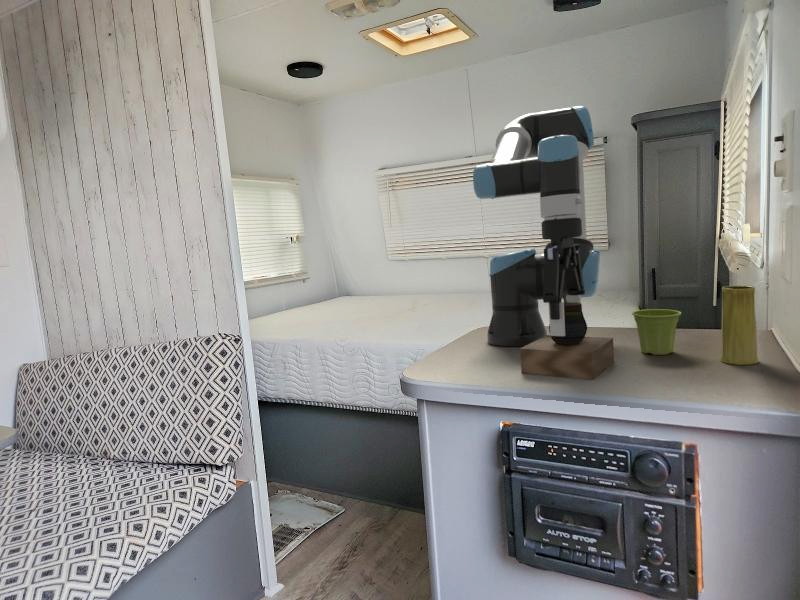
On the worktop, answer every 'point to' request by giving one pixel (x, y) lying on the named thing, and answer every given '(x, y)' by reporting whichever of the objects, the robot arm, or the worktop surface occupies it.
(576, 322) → the mate gourd
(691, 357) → the worktop surface
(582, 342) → the walnut block
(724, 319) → the vase
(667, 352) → the plant pot
